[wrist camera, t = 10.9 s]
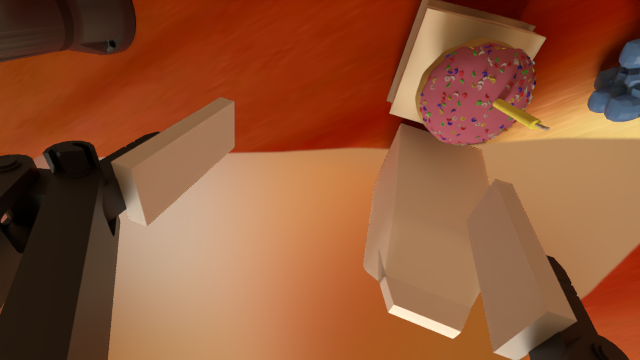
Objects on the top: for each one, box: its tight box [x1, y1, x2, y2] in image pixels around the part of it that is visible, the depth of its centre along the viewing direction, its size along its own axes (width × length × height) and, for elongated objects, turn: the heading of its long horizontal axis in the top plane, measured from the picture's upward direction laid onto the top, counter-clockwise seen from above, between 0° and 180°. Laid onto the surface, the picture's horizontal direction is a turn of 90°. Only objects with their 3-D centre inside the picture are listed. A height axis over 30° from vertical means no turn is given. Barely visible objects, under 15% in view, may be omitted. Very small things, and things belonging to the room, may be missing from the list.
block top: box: [390, 5, 546, 123], centre depth 29 cm, size 10×10×5 cm
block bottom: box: [387, 0, 536, 102], centre depth 34 cm, size 11×11×6 cm
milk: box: [363, 123, 490, 339], centre depth 35 cm, size 12×12×26 cm
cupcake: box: [415, 38, 549, 146], centre depth 22 cm, size 9×8×12 cm
